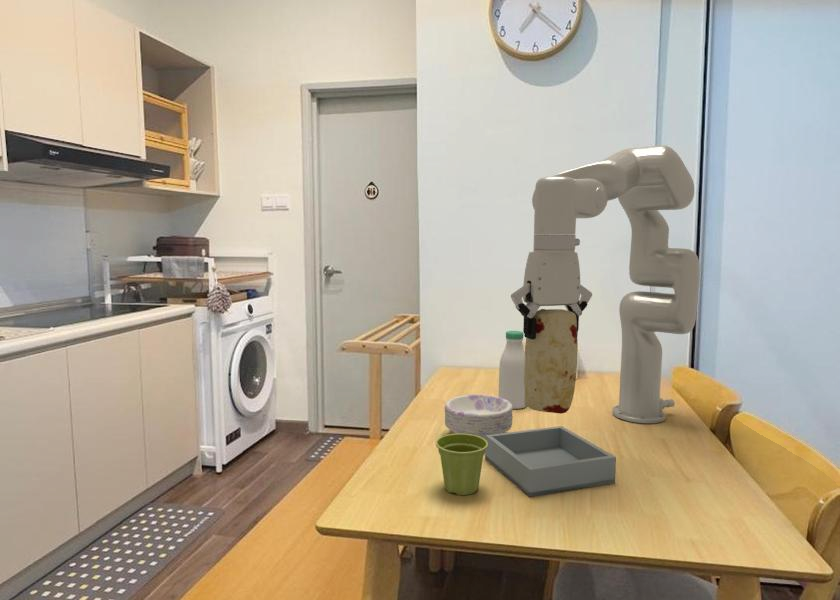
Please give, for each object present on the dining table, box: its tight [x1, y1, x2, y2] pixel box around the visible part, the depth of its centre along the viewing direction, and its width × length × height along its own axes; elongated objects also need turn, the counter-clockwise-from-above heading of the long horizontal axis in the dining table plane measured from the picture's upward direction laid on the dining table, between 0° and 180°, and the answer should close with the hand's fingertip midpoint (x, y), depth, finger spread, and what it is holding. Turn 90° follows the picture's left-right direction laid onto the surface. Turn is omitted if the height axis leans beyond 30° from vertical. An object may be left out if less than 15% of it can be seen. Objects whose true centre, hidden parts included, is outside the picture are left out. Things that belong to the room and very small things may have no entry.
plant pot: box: [435, 433, 488, 496], centre depth 104 cm, size 9×9×9 cm
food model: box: [524, 308, 579, 415], centre depth 110 cm, size 10×7×20 cm
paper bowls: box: [444, 394, 514, 439], centre depth 130 cm, size 15×15×8 cm
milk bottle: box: [498, 330, 527, 410], centre depth 153 cm, size 8×8×20 cm
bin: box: [484, 425, 617, 498], centre depth 112 cm, size 18×18×5 cm
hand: (550, 336), depth 109 cm, fingers closed on food model, 8 cm apart
